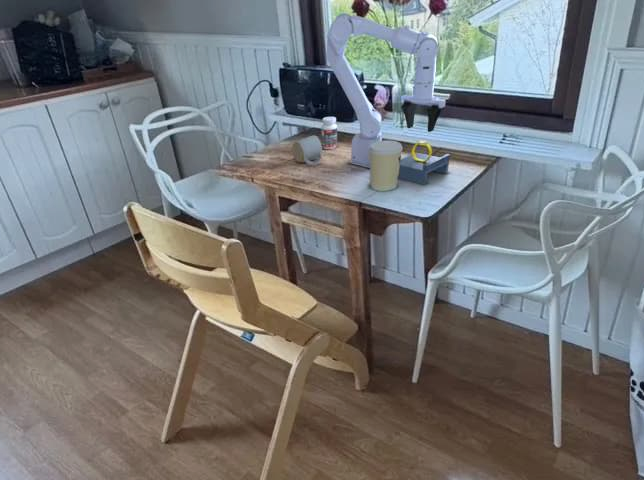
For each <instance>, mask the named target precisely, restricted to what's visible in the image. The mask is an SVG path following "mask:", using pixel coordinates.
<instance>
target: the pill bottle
mask: <svg viewBox="0 0 644 480" xmlns="http://www.w3.org/2000/svg"><path fill="white" fill-rule="evenodd" d="M336 122H337V117H335V116H325V117H323V118H322V124H321V125H320V130H321V132H320V143H321V146H322V149H324V150H332V149H335V148H337V146H338V125H337V124H336Z"/></svg>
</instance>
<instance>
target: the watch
mask: <svg viewBox="0 0 644 480" xmlns="http://www.w3.org/2000/svg"><path fill="white" fill-rule="evenodd" d="M418 145H419V146H425V147H426V148H427V149H428V155H429V156H428V158H427V159H426V160H422V159H418V158H417V157H416V155H415V153H416V152H415V151H416V147H417V146H418ZM411 155H412V157H413V158H414V160H415V161H420V162H426V161H427V160H429V159H430V157H431V156H433V149H432V146H431V145H430V143H429V141H428V140H427V139H419V140H418V141H417V142H416V143H415V144H414V145H413V146H412V148H411Z"/></svg>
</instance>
